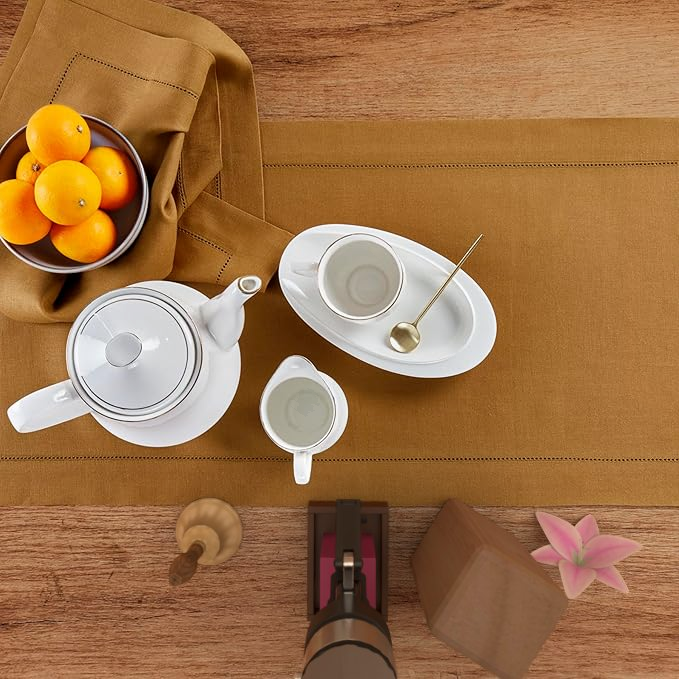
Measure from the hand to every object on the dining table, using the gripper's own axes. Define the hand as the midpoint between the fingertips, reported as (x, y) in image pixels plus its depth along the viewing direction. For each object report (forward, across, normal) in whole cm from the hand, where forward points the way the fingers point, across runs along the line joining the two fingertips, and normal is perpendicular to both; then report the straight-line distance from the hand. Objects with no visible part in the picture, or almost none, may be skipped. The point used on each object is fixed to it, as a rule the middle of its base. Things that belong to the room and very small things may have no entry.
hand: (347, 571), depth 75 cm
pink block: (+4, 0, 0) cm, 4 cm away
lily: (+5, -2, +27) cm, 28 cm away
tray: (+5, 0, 0) cm, 5 cm away
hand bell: (+5, -3, -17) cm, 18 cm away
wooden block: (+5, -1, +14) cm, 15 cm away
